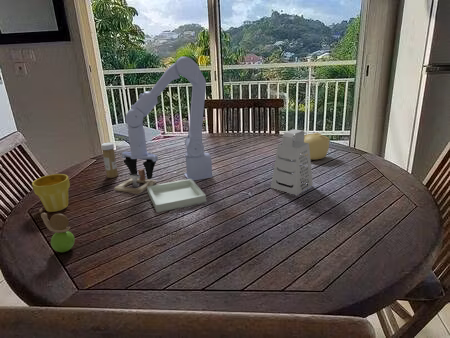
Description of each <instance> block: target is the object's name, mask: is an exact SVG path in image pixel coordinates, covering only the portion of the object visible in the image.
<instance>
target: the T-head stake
mask: <svg viewBox="0 0 450 338" xmlns="http://www.w3.org/2000/svg"><path fill="white" fill-rule="evenodd" d="M127 176H128V178H129V179H130V178H132V180H133V183H132V186H133V187H132V188H139V184H138V183H139V182H137V179H139V178H141V177H140V175H139V174H137V175H136V174H131V173H129V174H128V175H127Z"/></svg>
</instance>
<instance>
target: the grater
mask: <svg viewBox="0 0 450 338" xmlns="http://www.w3.org/2000/svg"><path fill="white" fill-rule="evenodd" d="M304 135H306V134H305V131H304V130H301V129H295V128H294V129H293V128H292V129H291V130H287V131H285V132H283V135H282V142H281V143H278V144H277V147H276V155H275V159H274V167H273V172H272V178H271V185H270V189H271V188H274V189H277V190H276V191H278V190H281V191H285V192H288V193H291V194H295V195H297V194H299V193H301V192H302V191H304V190H305V189H307V188H309V187H310V186H312V185H313V186H314V184H313V175H312V174H313V173H312V164H311V163H312V161H311V160H312V159H310V150H309V143H304ZM293 138H294V140H293ZM302 153H303V154H302ZM307 153H308V156H307ZM305 154H306V156H305ZM301 182H303V183H301ZM279 183H280V184H279ZM304 183H305V184H304ZM306 183H307V184H308V185H307V184H306ZM283 184H284V185H283ZM285 185H286V186H285ZM289 186H290V187H289ZM291 186H292V187H291ZM274 189H273V190H274ZM309 189H310V188H309ZM281 191H280V192H281ZM291 194H290V195H291ZM301 194H302V193H301Z"/></svg>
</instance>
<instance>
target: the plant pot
mask: <svg viewBox="0 0 450 338" xmlns="http://www.w3.org/2000/svg"><path fill="white" fill-rule="evenodd" d="M31 186H32V189H33V192H34V194H35V195H36V196H38V198H39V199H40V202H41V203H42V206H43V207H44V209H45V211H46V212H49V213H56V212H60V211H63V210H64V209H66V208H68V206H69V189H70V187H71V183H70V178H69V175H67V174H64V173H53V174H47V175H44V176H41V177H39V178H37V179H35V180H33V181H32V182H31Z"/></svg>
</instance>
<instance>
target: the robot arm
mask: <svg viewBox="0 0 450 338" xmlns="http://www.w3.org/2000/svg"><path fill="white" fill-rule="evenodd" d="M180 76H182V78H184V79H187V81H188V82H189V83H190V84H191V86H192V87H191V97H190V98H191V101H190V113H189V114H190V115H189V116H190V117H189V127H188V132H187V133H188V134H187V137H186V138H185V140H184V141H185V142H184V145H185V147H186V152H185V154H184V155H185V168H186V172H185V173H183V175H184V177H185V178H186V179H192V180H193V181H194V182H195V181H199V180H204V179H211V178H213V177H214V175H213V166H212V165H213V163H212V156H211V154H210V153H209V152H205V146H204V144H203V124H204V111H205V102H206V101H205V99H206V89H207V88H206V87H207V80H206V78H205V77H204V75H203V72H202V70H201V69H200V67H199V65H198V63H196V61H194V60H193V59H192V58H191V57H189V56H180V57H179V58H178V57H177V60H176V61H175V62H174V63H172V64H171V65H170V66H169V67H168V68H167V69H166V70H165V72H164V73H163V74H162V75H161V77H160V78H159V79H158V81H157V82H156V83H155V84H154V86H153V87H152V88H151V90H150V91H149V90H148V91H144V92H143V93H142V92H141V93H140V94H139V95H138V97H139V98H138V99H137V100H136V102H135V103H134V104H131V105H130V108H129V110H128V111H127V113H126V114H125V122H126V123H125V124H127V132H128V133H127V135H128V142H129V148H130V149H129V150H130V151H124V152H123V151H122V152H121V158H122V159H124V160H123V163H124V165H126V166H127V168H128V170H129V172H130V174H136V175H138V168H137V162H138V160H143V161H144V162H142V164H143V167H144V170H145V176H146V179H149V180H152V179H153V174H154V168H155V165H156V163H157V161H158V160H159V158H158V154H154V153H150V152H148V151H147V149H148V148H147V141H146V134H145V133H146V132H145V128H144V123H143V121H144V118H145V117H147V116H148V115H149V114H150V112H152V110H153V109H154V108H155V106H157V105H158V97H159V96H160V95H161V94H162V93H163V92H164V90H165V89H166V88H167V87H168V86H169V85H170V83H171V82H172V81H175V80H179V79H180V78H181V77H180Z"/></svg>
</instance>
